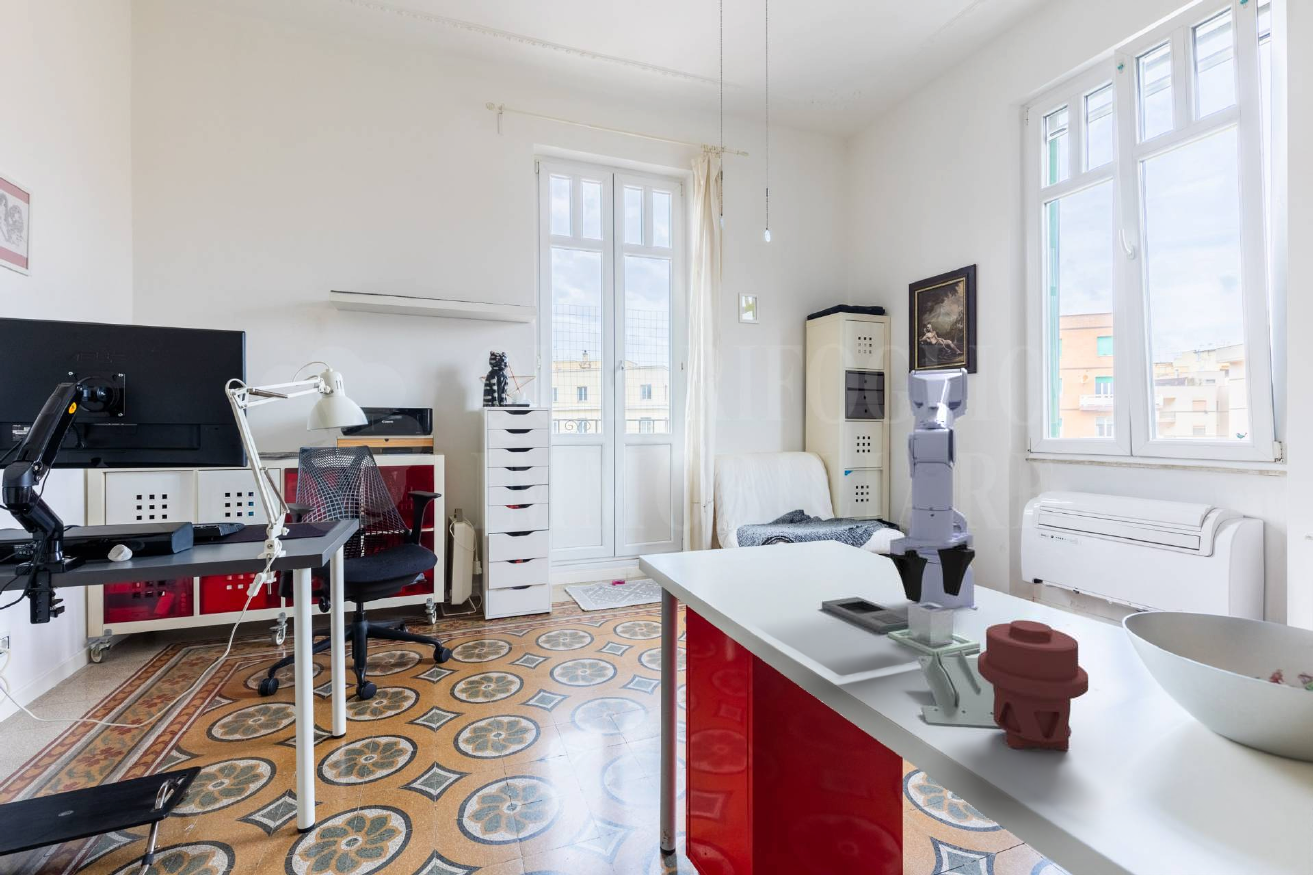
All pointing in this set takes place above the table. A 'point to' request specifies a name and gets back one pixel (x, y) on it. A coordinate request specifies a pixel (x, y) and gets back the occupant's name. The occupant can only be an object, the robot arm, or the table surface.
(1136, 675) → the table surface
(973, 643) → the tray
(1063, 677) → the mechanical component
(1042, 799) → the table surface
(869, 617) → the plate with square cutouts
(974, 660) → the metal bracket
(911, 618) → the cube with square inset
